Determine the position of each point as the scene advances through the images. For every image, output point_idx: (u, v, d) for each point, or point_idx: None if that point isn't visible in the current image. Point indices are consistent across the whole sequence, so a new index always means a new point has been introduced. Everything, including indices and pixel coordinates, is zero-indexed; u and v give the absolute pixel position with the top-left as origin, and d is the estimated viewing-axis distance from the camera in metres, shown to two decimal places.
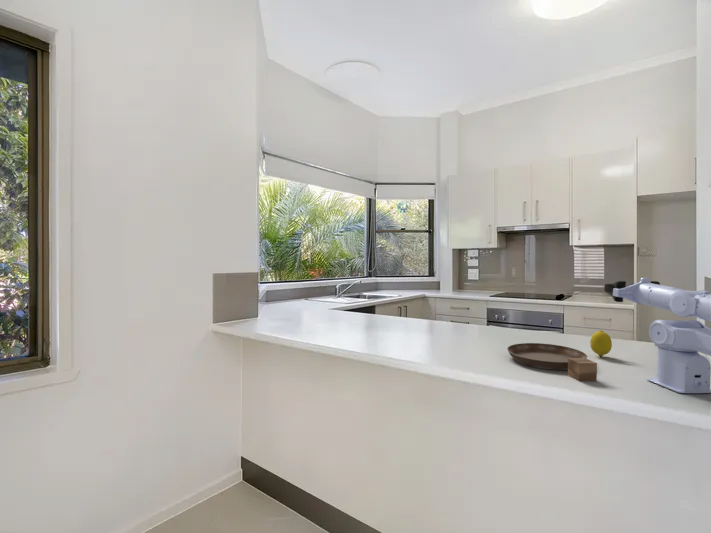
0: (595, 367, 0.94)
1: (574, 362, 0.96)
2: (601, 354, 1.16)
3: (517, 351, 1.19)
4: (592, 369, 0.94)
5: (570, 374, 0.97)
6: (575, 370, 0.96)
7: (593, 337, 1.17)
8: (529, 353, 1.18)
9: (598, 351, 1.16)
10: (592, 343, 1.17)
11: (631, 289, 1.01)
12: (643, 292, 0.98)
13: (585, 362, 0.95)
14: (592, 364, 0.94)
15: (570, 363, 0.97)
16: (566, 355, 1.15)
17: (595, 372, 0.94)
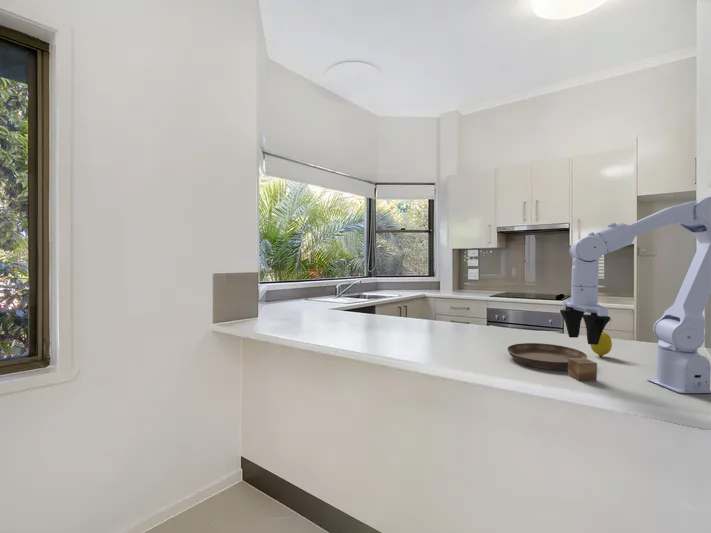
0: (595, 367, 0.94)
1: (574, 362, 0.96)
2: (601, 354, 1.16)
3: (517, 351, 1.19)
4: (592, 369, 0.94)
5: (570, 374, 0.97)
6: (575, 370, 0.96)
7: None
8: (529, 353, 1.18)
9: (598, 351, 1.16)
10: None
11: None
12: (589, 293, 0.93)
13: (585, 362, 0.95)
14: (592, 364, 0.94)
15: (570, 363, 0.97)
16: (566, 355, 1.15)
17: (595, 372, 0.94)
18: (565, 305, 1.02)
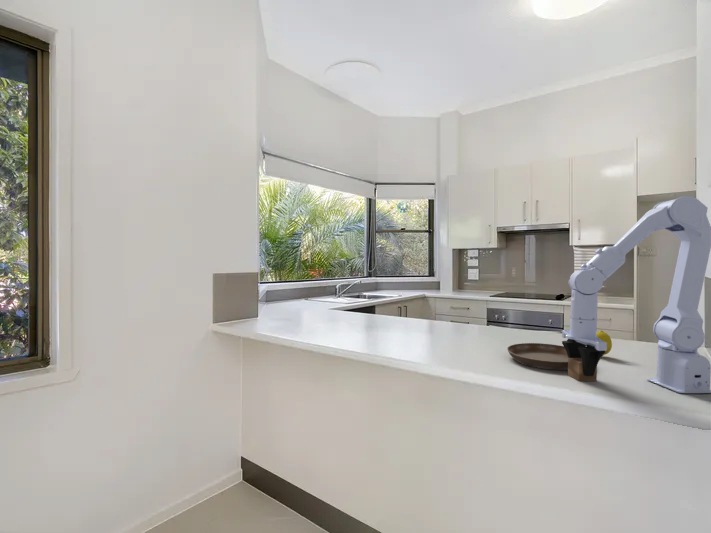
0: None
1: (574, 362, 0.96)
2: None
3: (517, 351, 1.19)
4: None
5: (570, 374, 0.97)
6: (575, 370, 0.96)
7: None
8: (529, 353, 1.18)
9: None
10: None
11: None
12: (588, 326, 0.93)
13: None
14: None
15: (570, 363, 0.97)
16: (566, 355, 1.15)
17: (595, 371, 0.94)
18: (564, 335, 1.02)
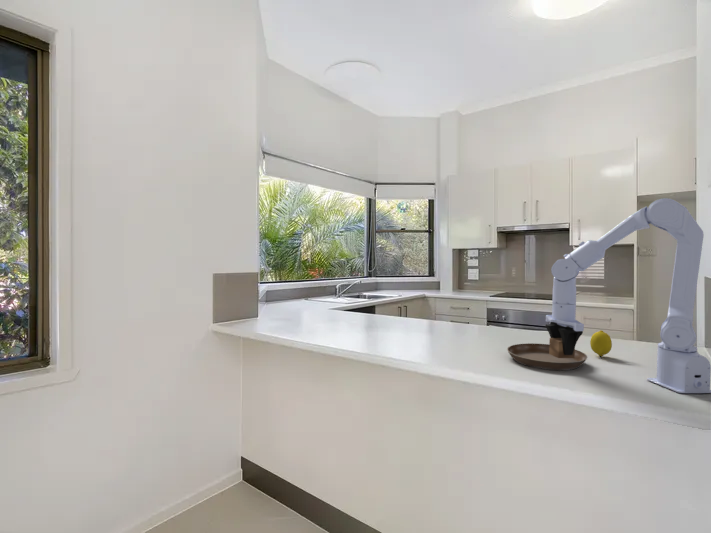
0: None
1: (554, 341, 1.06)
2: (601, 354, 1.16)
3: (517, 351, 1.19)
4: None
5: (551, 352, 1.07)
6: (555, 348, 1.05)
7: (593, 337, 1.17)
8: (529, 353, 1.18)
9: (598, 351, 1.16)
10: (592, 343, 1.17)
11: None
12: (567, 310, 1.03)
13: None
14: None
15: (551, 342, 1.07)
16: None
17: None
18: (547, 319, 1.12)
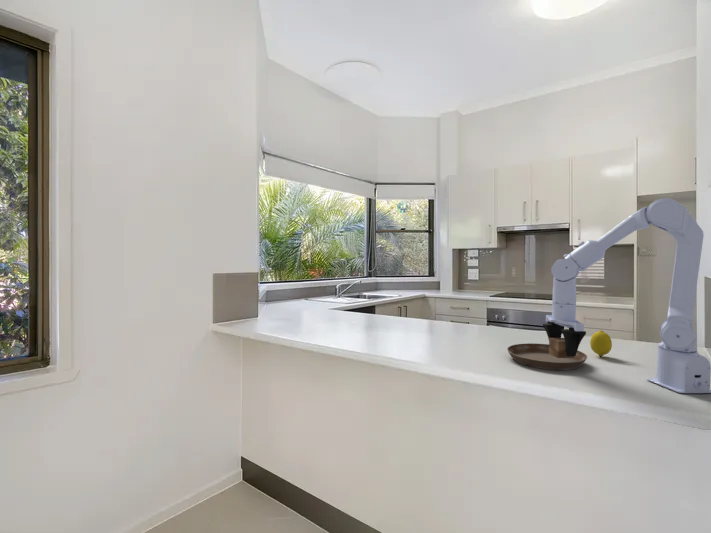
0: None
1: (554, 341, 1.06)
2: (601, 354, 1.16)
3: (517, 351, 1.19)
4: None
5: (551, 352, 1.07)
6: (554, 348, 1.06)
7: (593, 337, 1.17)
8: (529, 353, 1.18)
9: (598, 351, 1.16)
10: (592, 343, 1.17)
11: None
12: (567, 310, 1.03)
13: (564, 340, 1.05)
14: None
15: (551, 342, 1.07)
16: None
17: None
18: (547, 319, 1.12)
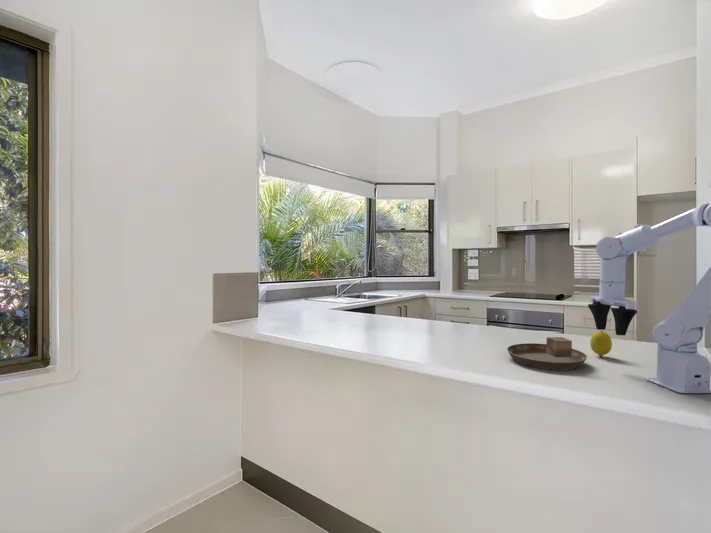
0: (570, 344, 1.05)
1: (552, 340, 1.07)
2: (601, 354, 1.16)
3: (517, 351, 1.19)
4: (567, 346, 1.05)
5: (548, 351, 1.08)
6: (552, 348, 1.06)
7: (593, 337, 1.17)
8: (529, 353, 1.19)
9: (598, 351, 1.16)
10: (592, 343, 1.17)
11: None
12: (617, 288, 1.02)
13: (561, 340, 1.06)
14: (567, 341, 1.05)
15: (548, 341, 1.08)
16: None
17: (570, 349, 1.05)
18: (592, 300, 1.11)
